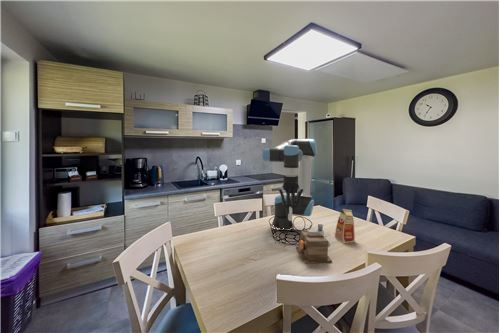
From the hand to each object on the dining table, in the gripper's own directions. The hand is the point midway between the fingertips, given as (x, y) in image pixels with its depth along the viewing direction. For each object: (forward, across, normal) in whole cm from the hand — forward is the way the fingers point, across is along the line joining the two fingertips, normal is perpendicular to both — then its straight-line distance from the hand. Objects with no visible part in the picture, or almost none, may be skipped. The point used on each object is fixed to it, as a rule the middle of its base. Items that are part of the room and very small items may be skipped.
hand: (290, 219), depth 114 cm
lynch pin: (+17, +13, 0) cm, 21 cm away
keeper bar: (+9, +14, 0) cm, 16 cm away
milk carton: (+20, +40, +18) cm, 48 cm away
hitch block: (+20, +13, 0) cm, 24 cm away
